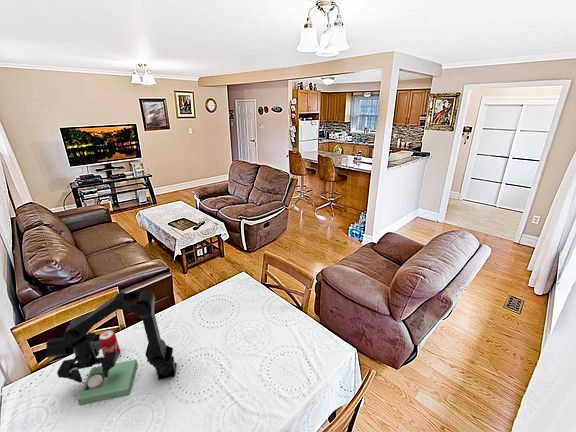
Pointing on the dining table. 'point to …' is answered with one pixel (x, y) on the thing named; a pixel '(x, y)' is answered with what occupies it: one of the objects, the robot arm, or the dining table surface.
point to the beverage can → (109, 342)
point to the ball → (95, 381)
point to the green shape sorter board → (110, 383)
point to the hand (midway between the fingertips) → (94, 379)
